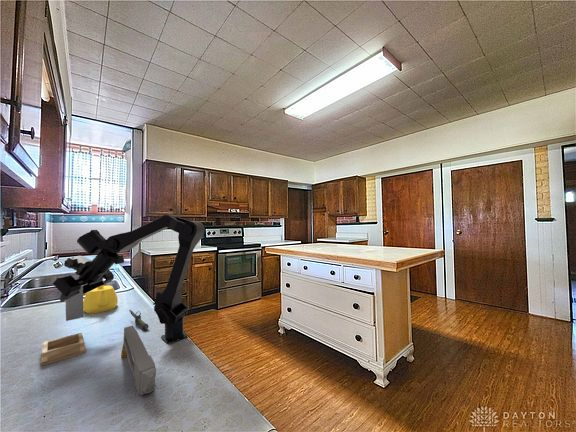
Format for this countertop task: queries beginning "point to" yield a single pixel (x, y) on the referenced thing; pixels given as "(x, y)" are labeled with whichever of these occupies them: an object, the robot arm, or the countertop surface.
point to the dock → (62, 348)
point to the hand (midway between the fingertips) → (70, 297)
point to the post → (74, 306)
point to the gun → (139, 361)
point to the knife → (139, 320)
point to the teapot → (100, 299)
